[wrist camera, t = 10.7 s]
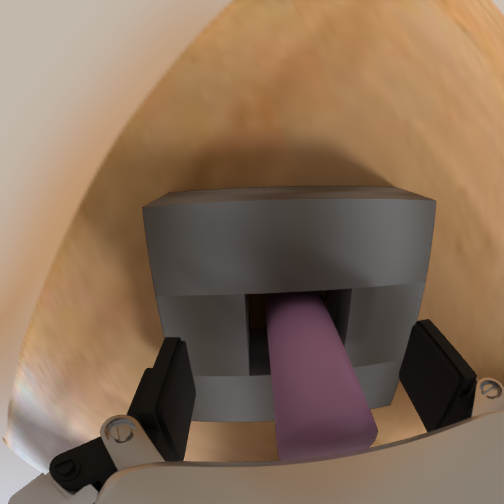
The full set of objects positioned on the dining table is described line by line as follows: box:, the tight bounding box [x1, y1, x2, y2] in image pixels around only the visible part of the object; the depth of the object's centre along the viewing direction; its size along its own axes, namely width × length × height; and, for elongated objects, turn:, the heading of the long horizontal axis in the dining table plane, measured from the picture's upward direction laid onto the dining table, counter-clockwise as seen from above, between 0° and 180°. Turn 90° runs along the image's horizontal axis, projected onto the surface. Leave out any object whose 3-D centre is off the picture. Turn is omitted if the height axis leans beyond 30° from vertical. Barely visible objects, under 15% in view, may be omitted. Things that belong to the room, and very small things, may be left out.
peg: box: [264, 291, 378, 460], centre depth 12 cm, size 3×3×10 cm
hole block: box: [142, 186, 436, 422], centre depth 15 cm, size 12×12×4 cm
